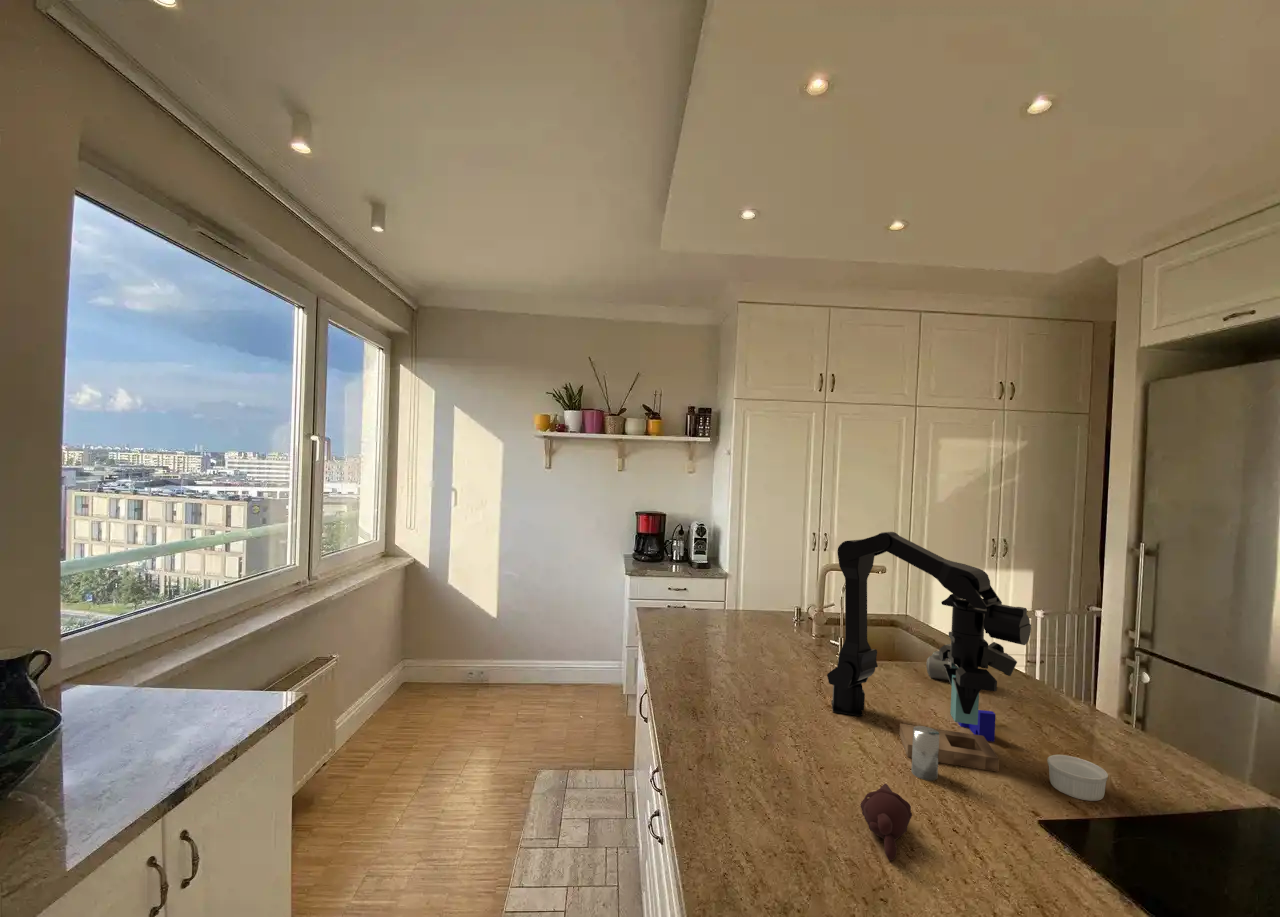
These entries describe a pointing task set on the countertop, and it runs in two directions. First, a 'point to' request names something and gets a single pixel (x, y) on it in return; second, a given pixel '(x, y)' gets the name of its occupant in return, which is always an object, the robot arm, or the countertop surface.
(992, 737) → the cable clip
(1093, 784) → the ramekin
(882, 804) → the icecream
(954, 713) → the square peg
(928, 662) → the pipe fitting
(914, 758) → the round peg
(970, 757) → the socket board
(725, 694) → the countertop surface
